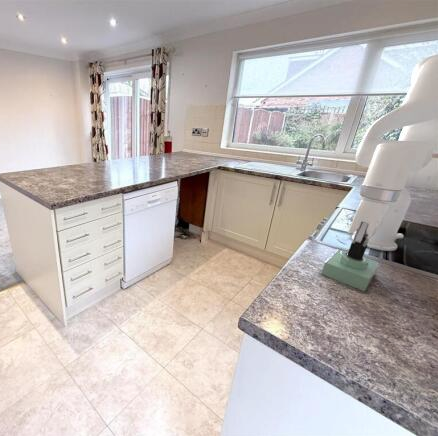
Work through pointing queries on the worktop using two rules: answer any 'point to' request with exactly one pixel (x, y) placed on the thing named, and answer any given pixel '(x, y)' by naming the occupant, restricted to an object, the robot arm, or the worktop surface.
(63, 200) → the worktop surface
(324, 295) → the worktop surface
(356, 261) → the green stepped base
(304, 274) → the worktop surface
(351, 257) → the grey metal rounded piece
